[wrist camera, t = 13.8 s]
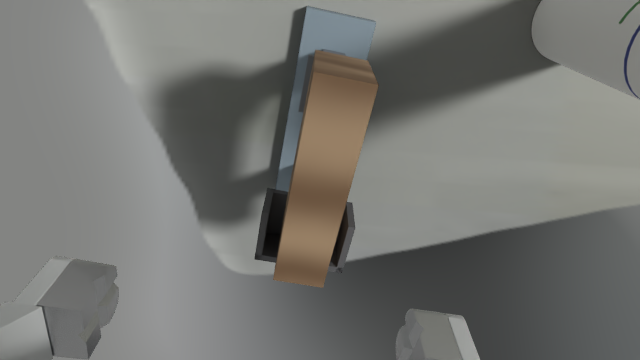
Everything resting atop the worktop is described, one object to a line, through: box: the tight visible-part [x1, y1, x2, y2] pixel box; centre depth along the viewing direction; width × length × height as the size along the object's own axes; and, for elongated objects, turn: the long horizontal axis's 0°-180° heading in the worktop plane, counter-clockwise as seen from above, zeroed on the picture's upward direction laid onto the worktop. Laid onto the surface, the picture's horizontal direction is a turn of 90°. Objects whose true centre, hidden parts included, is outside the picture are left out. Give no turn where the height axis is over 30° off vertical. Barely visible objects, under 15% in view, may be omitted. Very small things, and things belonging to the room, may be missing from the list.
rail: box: [273, 50, 379, 288], centre depth 28 cm, size 15×4×6 cm, turn 168°
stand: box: [255, 6, 376, 273], centre depth 34 cm, size 18×7×13 cm, turn 169°
